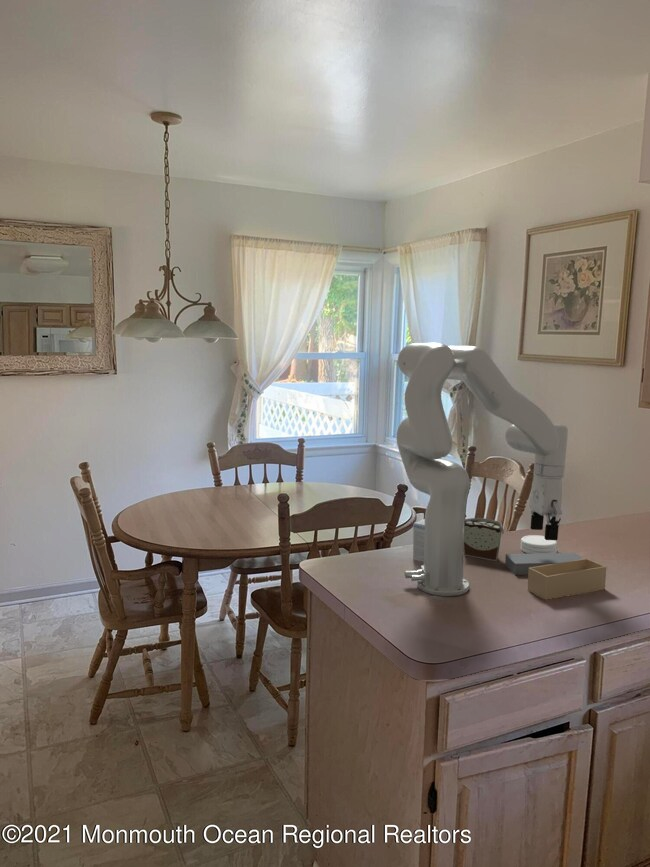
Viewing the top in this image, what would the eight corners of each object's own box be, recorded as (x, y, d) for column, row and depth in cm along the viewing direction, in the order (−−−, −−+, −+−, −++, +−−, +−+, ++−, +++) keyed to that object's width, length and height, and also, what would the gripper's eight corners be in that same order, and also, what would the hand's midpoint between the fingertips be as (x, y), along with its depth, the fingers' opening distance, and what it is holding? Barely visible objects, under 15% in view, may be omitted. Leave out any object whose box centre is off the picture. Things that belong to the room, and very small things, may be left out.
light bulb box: (431, 550, 184) (432, 514, 183) (452, 554, 180) (452, 518, 178) (411, 559, 176) (412, 522, 175) (433, 565, 172) (433, 526, 170)
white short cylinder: (513, 548, 186) (513, 537, 185) (539, 544, 190) (539, 532, 189) (537, 559, 177) (538, 547, 176) (564, 554, 181) (565, 542, 181)
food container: (508, 555, 179) (509, 521, 178) (501, 562, 174) (503, 526, 172) (466, 548, 186) (467, 515, 184) (459, 554, 180) (460, 520, 179)
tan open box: (545, 601, 148) (546, 576, 147) (527, 591, 154) (528, 567, 153) (604, 590, 154) (606, 566, 154) (585, 581, 160) (586, 558, 160)
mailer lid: (514, 574, 164) (515, 563, 164) (505, 564, 172) (505, 554, 171) (586, 573, 165) (587, 562, 165) (574, 563, 172) (574, 552, 172)
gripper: (522, 464, 173) (518, 525, 175) (547, 476, 156) (542, 543, 158) (549, 465, 173) (544, 526, 175) (577, 477, 156) (571, 544, 158)
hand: (543, 534), depth 167 cm, fingers open, 9 cm apart
